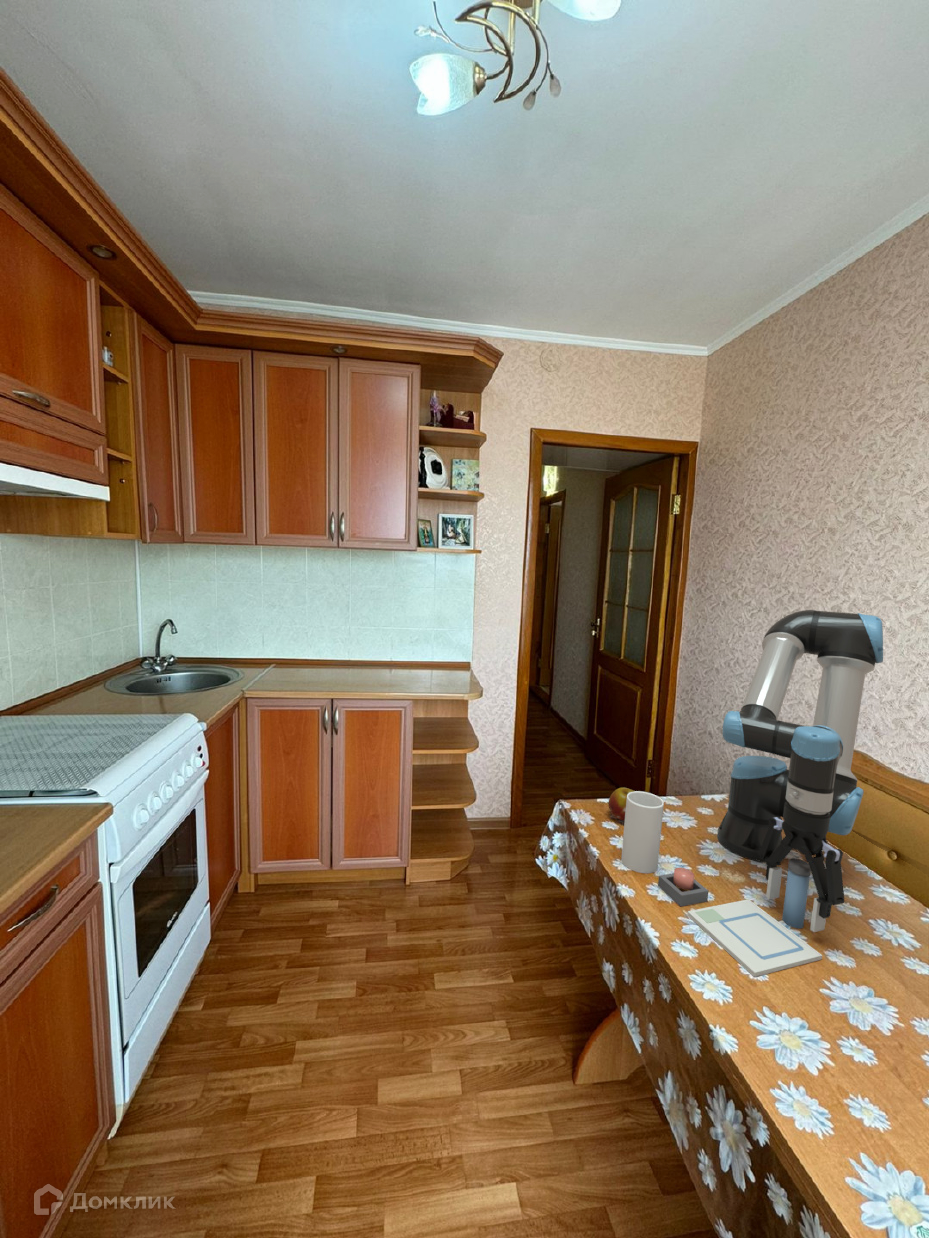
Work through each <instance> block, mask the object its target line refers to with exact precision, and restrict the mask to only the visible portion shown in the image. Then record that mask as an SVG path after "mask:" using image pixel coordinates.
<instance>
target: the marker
mask: <svg viewBox="0 0 929 1238" xmlns="http://www.w3.org/2000/svg"><path fill="white" fill-rule="evenodd" d="M787 868H788V871H787V876H786V877H787V878H786V885H785V893H784V895H785V896H784V900H783V901H784V902H783V908H782V909H783V910H782V917H781V919H782V922H783V923H785V924H786V925H788V927H790V928H794V929H803V928H804V925H805V924H804V923H805V917H806V916H805V915H806V907H807V900H808V895H809V886H810V879H811V875H812V872H811V869H810V866H809V863H808V862H807V861H806V860H803V859H800V858H794V857H792V858H789V859H788V864H787Z"/></svg>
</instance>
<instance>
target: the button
mask: <svg viewBox="0 0 929 1238" xmlns="http://www.w3.org/2000/svg"><path fill="white" fill-rule="evenodd" d="M673 873H674V878H673V883H674V884H675V885H676V887H677V888H678V889H682V890H685V891H690V890H691V889H692V888H693V884H694V879H695V873H694V872H693V871H691V870H690V869H688V868H684V867H675V868H674V870H673Z"/></svg>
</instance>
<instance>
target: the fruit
mask: <svg viewBox="0 0 929 1238" xmlns="http://www.w3.org/2000/svg"><path fill="white" fill-rule="evenodd" d="M634 791H635V790H633V789H632V788H631V789H630V788H627V787H619V788H617V789H615V790H614V791H613V792H612V793H611V794H610V795H609V798H608V799H609V800H608V809H609V812H610V813H611V815H612V816H613V817H614V818H616V819H617V820H619V821H623V822H625V812H626V801H627V794H628V793H630V792H634Z"/></svg>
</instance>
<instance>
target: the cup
mask: <svg viewBox="0 0 929 1238" xmlns="http://www.w3.org/2000/svg"><path fill="white" fill-rule="evenodd" d="M633 791H634V792H630V793H628V794H627V801H626V812H625V821H624V824H623V825H624V826H623V833H622V834H623V835H622V847H621V848H622V849H621V858H620V859H621V862H622V864H623V865H624V867H626V868H627V869H629V870H631V871H632V872H633V871H634V872H636V873H641V874H653V873H655V872H656V871H658V868H659V857H660V849H661V848H660V847H661V836H662V835H661V834H662V828H663V816H664V807H665V806H664V803H665V802H664V800H663V799H662V798H661V797H659V795H655V794H653V793H651V792H647V791H641V790H638V791H637V790H636V791H635V790H633Z"/></svg>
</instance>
